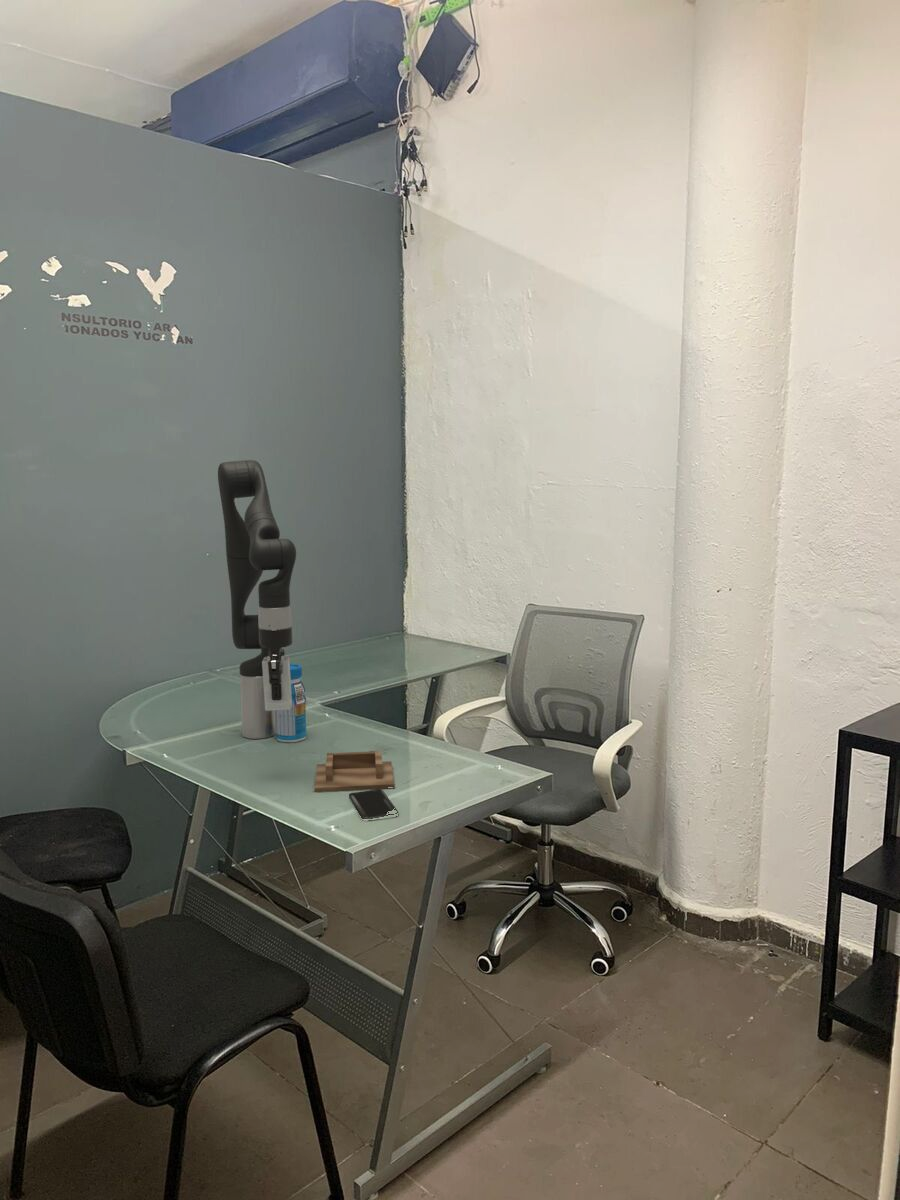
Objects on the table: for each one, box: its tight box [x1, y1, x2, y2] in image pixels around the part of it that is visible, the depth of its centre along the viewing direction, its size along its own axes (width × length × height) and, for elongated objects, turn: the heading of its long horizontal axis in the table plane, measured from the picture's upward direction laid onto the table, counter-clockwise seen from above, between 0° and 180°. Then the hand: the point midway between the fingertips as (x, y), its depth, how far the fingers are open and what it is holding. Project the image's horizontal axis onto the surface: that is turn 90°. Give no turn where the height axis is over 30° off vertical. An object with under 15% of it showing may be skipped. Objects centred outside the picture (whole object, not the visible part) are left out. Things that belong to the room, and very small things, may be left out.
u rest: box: [313, 750, 395, 793], centre depth 203 cm, size 16×18×4 cm
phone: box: [348, 789, 399, 820], centre depth 186 cm, size 8×1×15 cm
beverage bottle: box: [275, 663, 307, 743], centre depth 233 cm, size 8×8×20 cm
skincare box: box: [262, 656, 292, 711], centre depth 202 cm, size 6×4×12 cm
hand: (277, 696), depth 203 cm, fingers closed on skincare box, 4 cm apart
